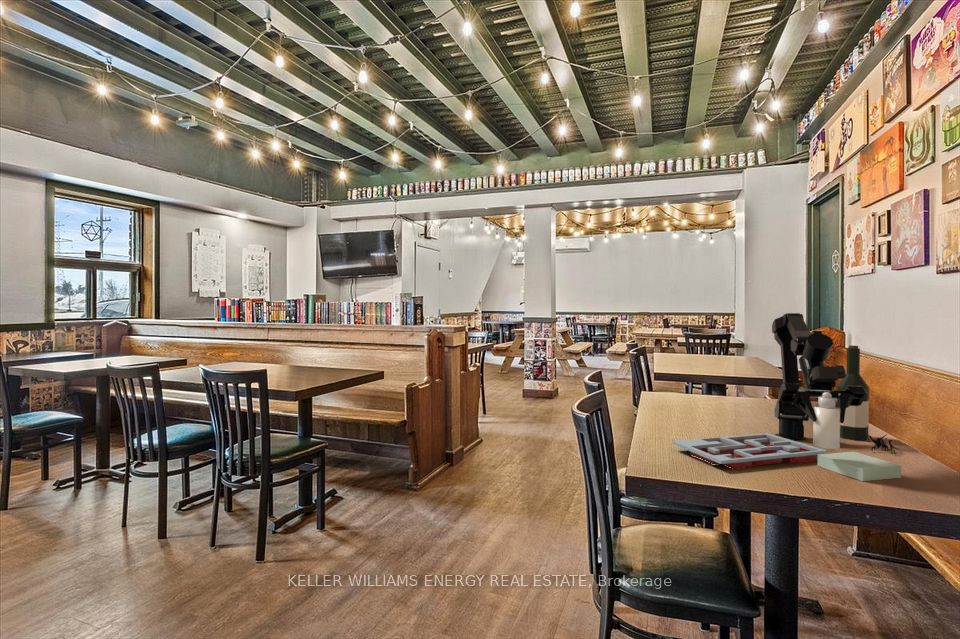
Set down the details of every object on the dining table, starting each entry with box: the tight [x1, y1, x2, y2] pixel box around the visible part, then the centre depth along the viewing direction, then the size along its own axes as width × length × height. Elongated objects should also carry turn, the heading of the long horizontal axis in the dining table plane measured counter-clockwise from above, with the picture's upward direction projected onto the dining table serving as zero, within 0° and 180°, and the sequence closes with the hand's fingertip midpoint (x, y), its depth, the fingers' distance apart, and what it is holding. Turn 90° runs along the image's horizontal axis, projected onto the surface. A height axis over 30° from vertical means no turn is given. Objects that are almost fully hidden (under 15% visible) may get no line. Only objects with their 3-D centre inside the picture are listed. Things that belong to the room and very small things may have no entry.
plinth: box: [817, 451, 902, 482], centre depth 123 cm, size 12×12×3 cm
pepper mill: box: [812, 392, 841, 450], centre depth 123 cm, size 6×6×14 cm
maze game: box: [671, 432, 828, 469], centre depth 137 cm, size 35×20×3 cm, turn 105°
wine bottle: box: [836, 344, 870, 442], centre depth 156 cm, size 8×8×30 cm
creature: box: [865, 433, 902, 455], centre depth 140 cm, size 8×5×8 cm
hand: (828, 421), depth 122 cm, fingers closed on pepper mill, 6 cm apart
